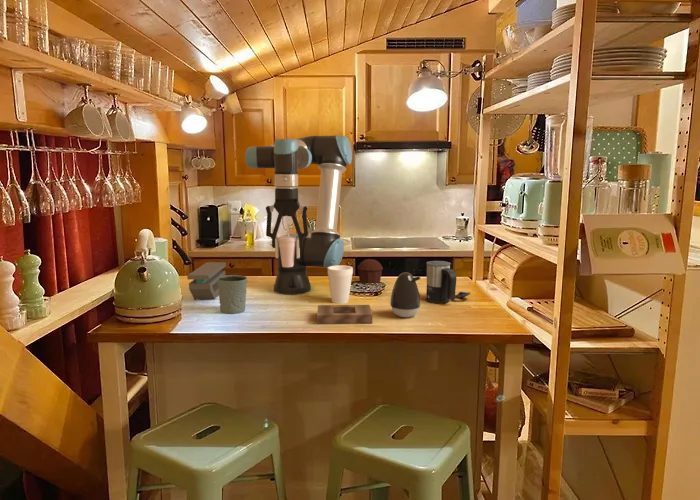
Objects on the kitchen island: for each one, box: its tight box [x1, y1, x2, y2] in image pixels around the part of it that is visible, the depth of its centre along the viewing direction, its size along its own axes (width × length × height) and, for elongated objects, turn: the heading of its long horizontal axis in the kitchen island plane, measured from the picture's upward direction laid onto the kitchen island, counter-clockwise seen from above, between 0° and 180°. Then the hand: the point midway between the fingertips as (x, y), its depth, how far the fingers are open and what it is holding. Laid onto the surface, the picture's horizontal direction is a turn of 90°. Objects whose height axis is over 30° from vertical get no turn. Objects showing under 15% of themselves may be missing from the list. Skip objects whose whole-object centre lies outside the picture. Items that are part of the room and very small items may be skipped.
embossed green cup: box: [218, 274, 248, 315], centre depth 183 cm, size 10×10×12 cm
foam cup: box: [327, 264, 354, 305], centre depth 196 cm, size 10×9×13 cm
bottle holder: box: [316, 304, 373, 325], centre depth 175 cm, size 18×12×3 cm, turn 93°
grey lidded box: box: [187, 261, 227, 300], centre depth 204 cm, size 25×8×11 cm, turn 179°
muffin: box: [357, 258, 384, 284], centre depth 227 cm, size 12×11×10 cm
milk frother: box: [425, 260, 471, 304], centre depth 198 cm, size 14×16×15 cm
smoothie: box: [277, 223, 297, 267], centre depth 171 cm, size 6×6×14 cm
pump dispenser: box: [390, 271, 421, 318], centre depth 178 cm, size 10×10×15 cm
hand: (287, 257), depth 172 cm, fingers closed on smoothie, 6 cm apart
